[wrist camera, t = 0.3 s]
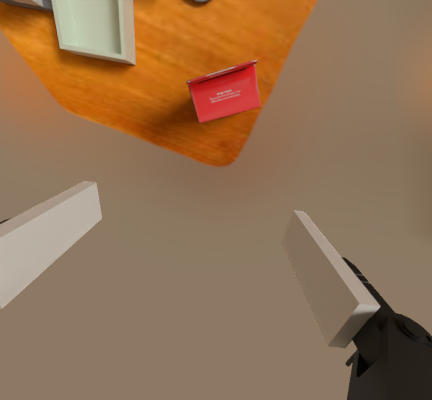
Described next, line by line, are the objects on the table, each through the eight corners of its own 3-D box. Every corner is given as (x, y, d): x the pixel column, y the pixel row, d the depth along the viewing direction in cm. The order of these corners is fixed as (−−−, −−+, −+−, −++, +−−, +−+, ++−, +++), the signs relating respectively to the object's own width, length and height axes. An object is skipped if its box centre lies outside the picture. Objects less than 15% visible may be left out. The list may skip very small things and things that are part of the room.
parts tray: (61, -50, 26) (38, -72, 23) (132, -36, 26) (119, -56, 23) (76, 54, 31) (60, 48, 28) (135, 65, 32) (125, 59, 28)
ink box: (205, 120, 35) (195, 126, 22) (197, 92, 33) (181, 79, 20) (249, 108, 34) (266, 106, 21) (244, 77, 32) (259, 54, 19)
